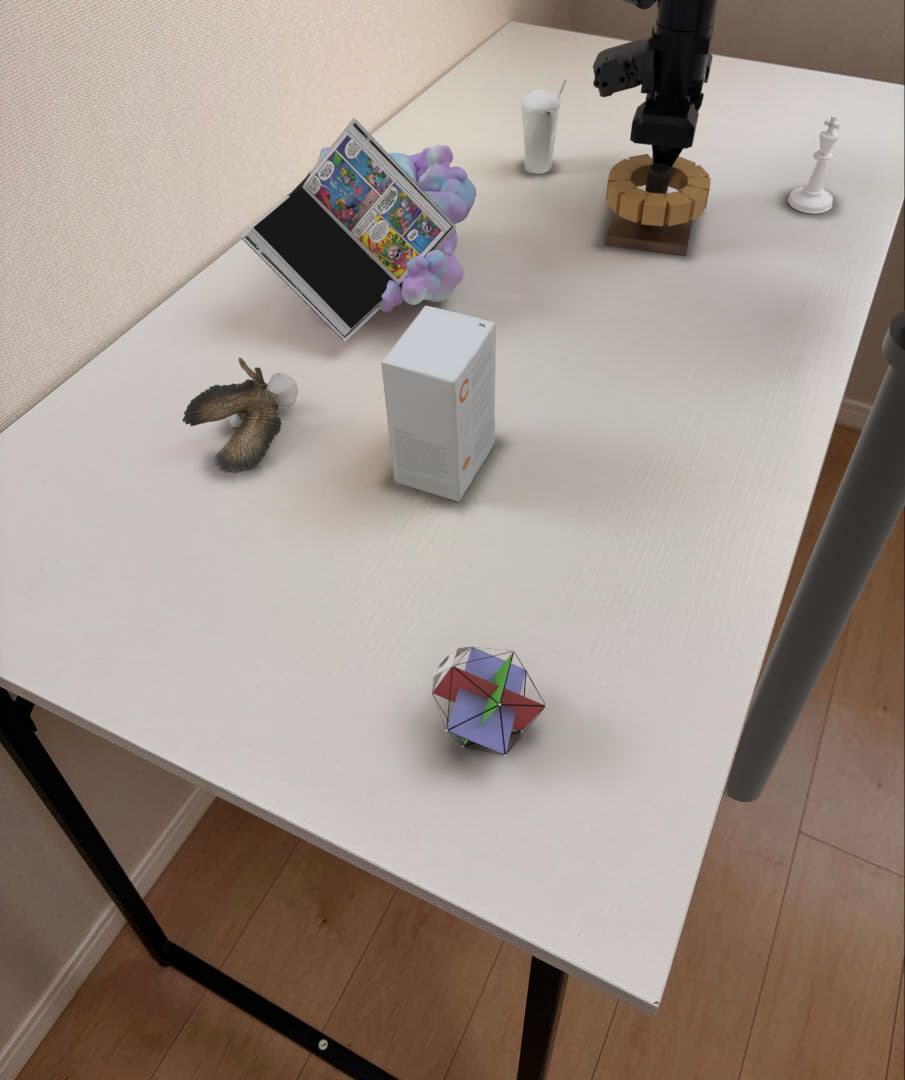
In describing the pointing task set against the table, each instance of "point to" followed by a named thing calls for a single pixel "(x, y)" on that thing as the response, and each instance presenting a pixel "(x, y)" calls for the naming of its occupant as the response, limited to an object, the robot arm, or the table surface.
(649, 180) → the dark wooden peg stand
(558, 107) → the milkshake
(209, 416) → the eagle figurine
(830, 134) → the chess piece
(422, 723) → the table surface
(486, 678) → the geometric puzzle
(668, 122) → the robot arm
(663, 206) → the segmented wooden ring
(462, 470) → the small box
